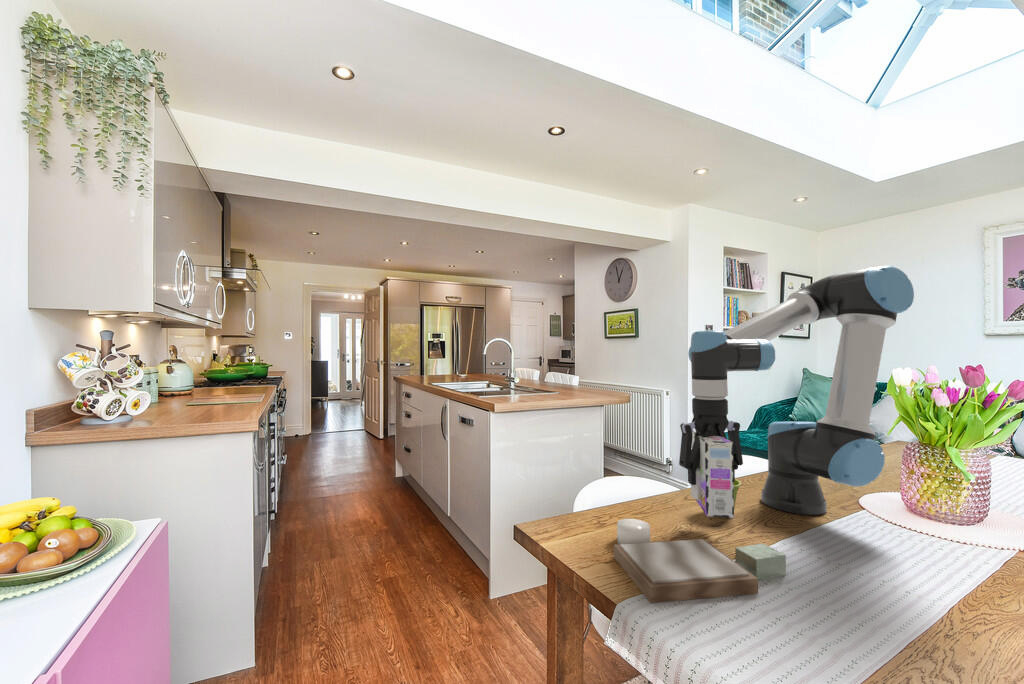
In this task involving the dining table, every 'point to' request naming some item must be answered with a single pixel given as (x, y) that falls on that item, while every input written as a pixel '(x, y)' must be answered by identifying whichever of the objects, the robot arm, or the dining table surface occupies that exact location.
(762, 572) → the pale green block
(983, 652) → the dining table surface
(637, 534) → the white rounded dome
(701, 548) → the picture frame
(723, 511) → the candy box
